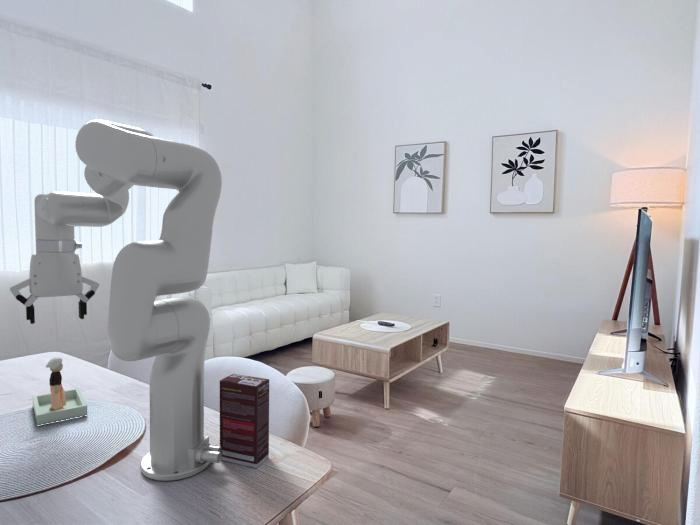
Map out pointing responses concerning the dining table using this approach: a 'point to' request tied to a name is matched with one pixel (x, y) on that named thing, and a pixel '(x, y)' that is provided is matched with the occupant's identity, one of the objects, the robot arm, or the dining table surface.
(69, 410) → the tray
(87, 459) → the dining table surface
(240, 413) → the supplement box
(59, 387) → the grandmother figurine
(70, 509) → the dining table surface
